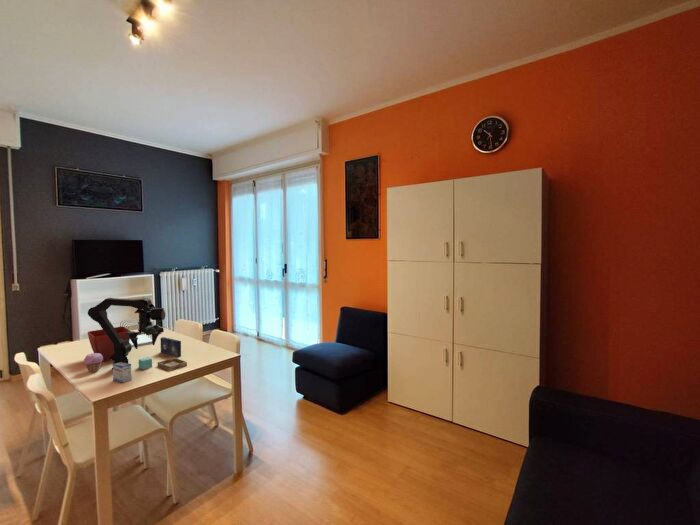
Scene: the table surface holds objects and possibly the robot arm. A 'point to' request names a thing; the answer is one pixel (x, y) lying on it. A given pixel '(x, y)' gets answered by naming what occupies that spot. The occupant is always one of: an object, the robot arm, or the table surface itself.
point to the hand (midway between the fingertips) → (145, 347)
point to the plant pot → (105, 342)
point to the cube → (145, 363)
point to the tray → (172, 364)
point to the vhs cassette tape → (171, 347)
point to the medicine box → (121, 372)
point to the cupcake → (93, 361)
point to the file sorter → (141, 338)
